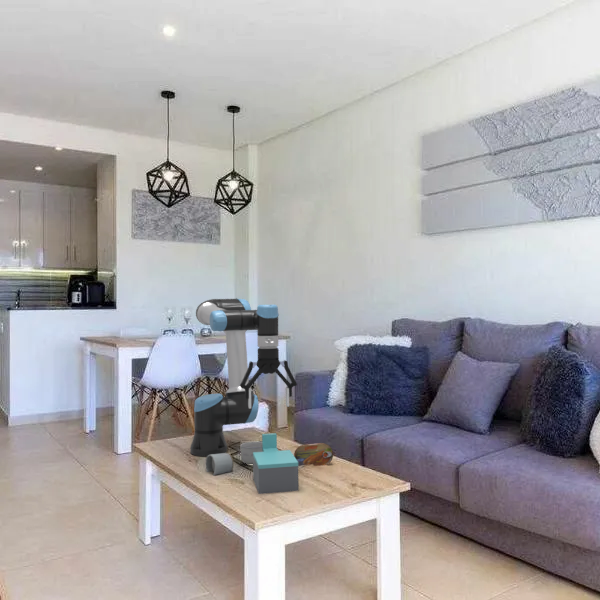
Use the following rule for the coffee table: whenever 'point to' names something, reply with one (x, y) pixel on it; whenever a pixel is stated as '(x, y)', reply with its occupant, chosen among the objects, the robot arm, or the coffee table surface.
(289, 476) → the tub
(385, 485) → the coffee table surface
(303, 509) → the coffee table surface
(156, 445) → the coffee table surface
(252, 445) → the teacup
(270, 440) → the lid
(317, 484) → the coffee table surface
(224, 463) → the ceramic mug
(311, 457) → the tin
